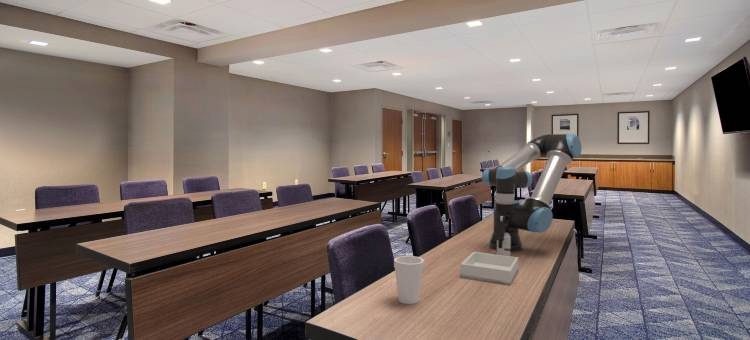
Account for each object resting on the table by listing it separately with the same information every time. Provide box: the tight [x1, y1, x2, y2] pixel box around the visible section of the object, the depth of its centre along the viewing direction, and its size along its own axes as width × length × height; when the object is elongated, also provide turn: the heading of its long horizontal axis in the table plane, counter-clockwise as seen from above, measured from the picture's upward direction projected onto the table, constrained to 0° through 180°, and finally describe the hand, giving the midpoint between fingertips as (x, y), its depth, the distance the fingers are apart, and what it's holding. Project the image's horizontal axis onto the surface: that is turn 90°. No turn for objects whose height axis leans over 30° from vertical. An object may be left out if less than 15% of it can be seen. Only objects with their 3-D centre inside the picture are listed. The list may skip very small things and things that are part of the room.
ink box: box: [504, 233, 511, 256], centre depth 169 cm, size 9×5×12 cm, turn 168°
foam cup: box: [393, 255, 425, 305], centre depth 125 cm, size 10×9×13 cm
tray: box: [459, 251, 519, 286], centre depth 152 cm, size 20×18×5 cm
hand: (503, 251), depth 169 cm, fingers open, 13 cm apart
